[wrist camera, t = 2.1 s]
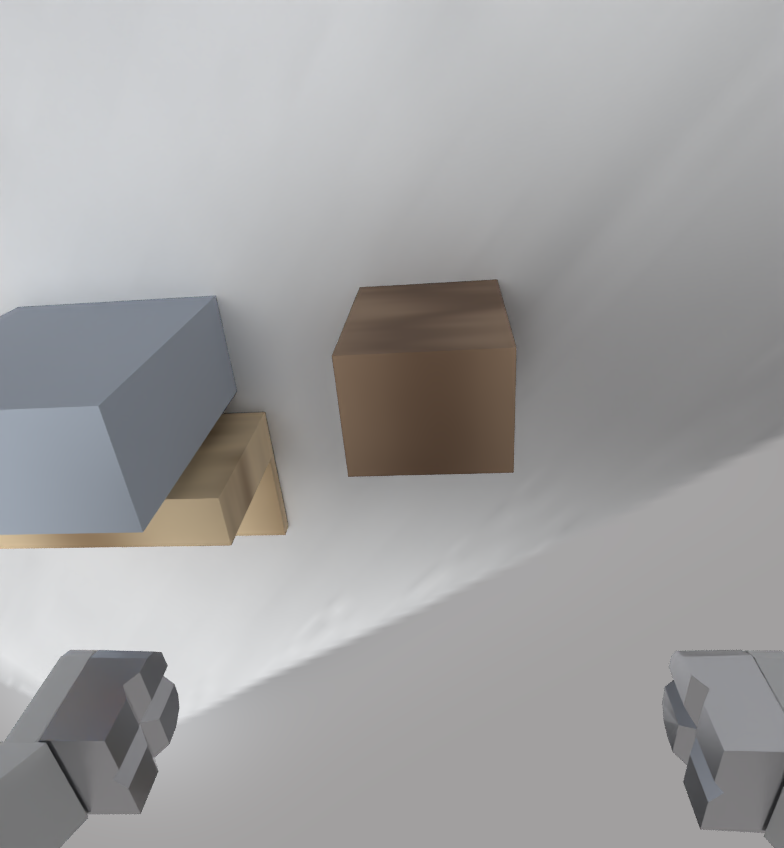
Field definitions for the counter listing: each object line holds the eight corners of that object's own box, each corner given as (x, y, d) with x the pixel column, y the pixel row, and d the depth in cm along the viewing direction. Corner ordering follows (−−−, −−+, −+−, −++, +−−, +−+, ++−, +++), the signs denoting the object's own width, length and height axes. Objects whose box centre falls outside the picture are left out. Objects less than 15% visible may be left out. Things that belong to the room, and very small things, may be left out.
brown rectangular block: (497, 279, 22) (516, 347, 16) (496, 380, 24) (513, 472, 18) (359, 287, 22) (332, 356, 17) (370, 385, 24) (348, 476, 19)
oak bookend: (264, 412, 25) (218, 498, 20) (288, 526, 28) (253, 627, 23) (39, 420, 26) (-62, 504, 21) (84, 529, 29) (6, 627, 24)
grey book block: (215, 295, 23) (98, 406, 15) (237, 390, 25) (143, 532, 17) (18, 306, 24) (-191, 417, 16) (54, 398, 26) (-117, 536, 18)
